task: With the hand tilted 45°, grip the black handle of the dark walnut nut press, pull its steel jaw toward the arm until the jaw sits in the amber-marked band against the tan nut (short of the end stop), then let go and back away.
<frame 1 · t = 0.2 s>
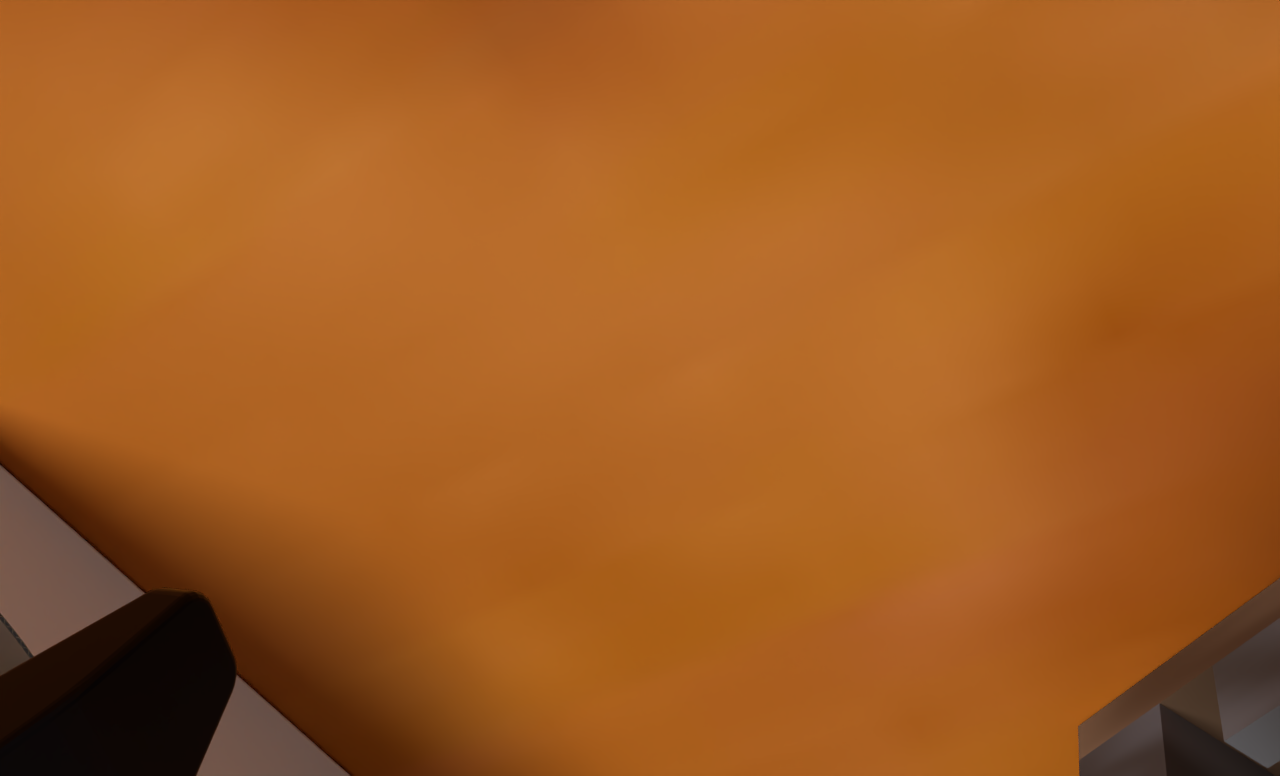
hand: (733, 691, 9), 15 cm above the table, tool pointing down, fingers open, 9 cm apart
gable box: (96, 695, 39), on the table
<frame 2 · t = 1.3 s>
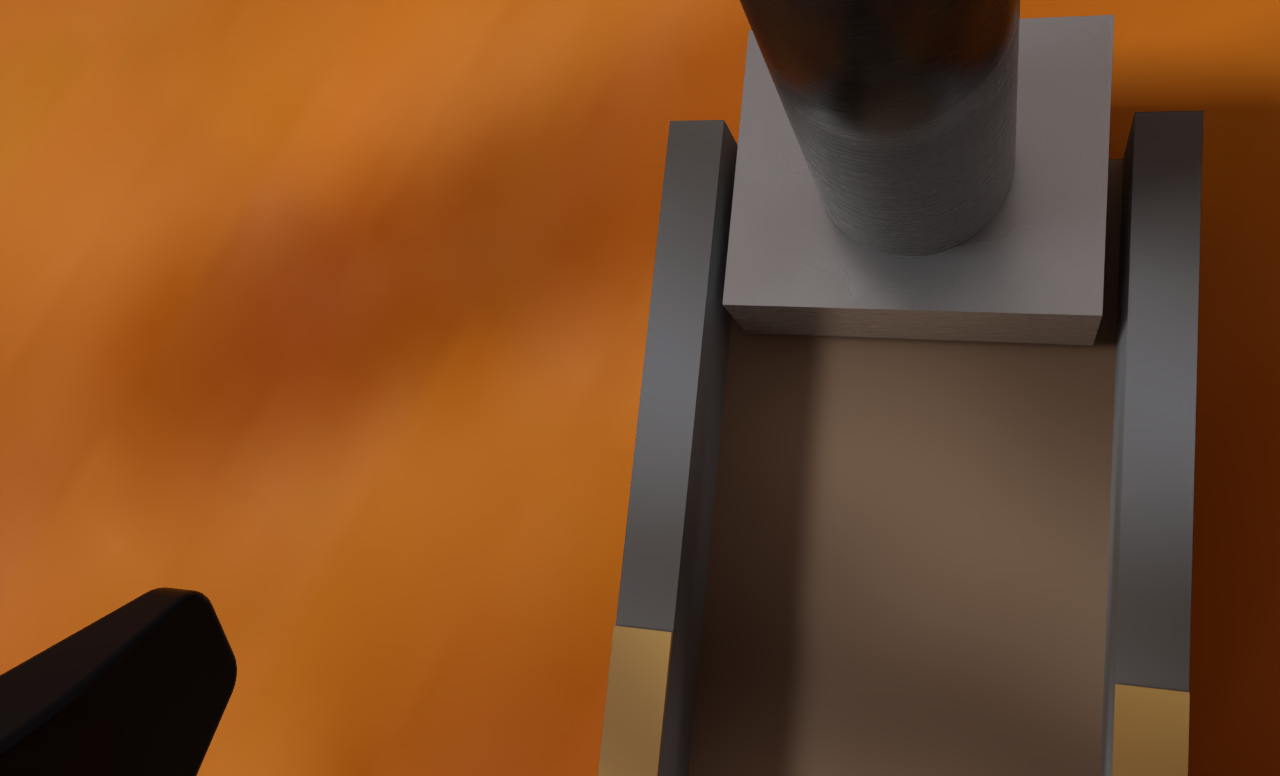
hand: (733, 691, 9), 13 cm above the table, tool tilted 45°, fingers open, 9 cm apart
press base: (925, 229, 23), on the table
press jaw: (889, 30, 15), point 8 cm above the table, slide at 0.0 cm
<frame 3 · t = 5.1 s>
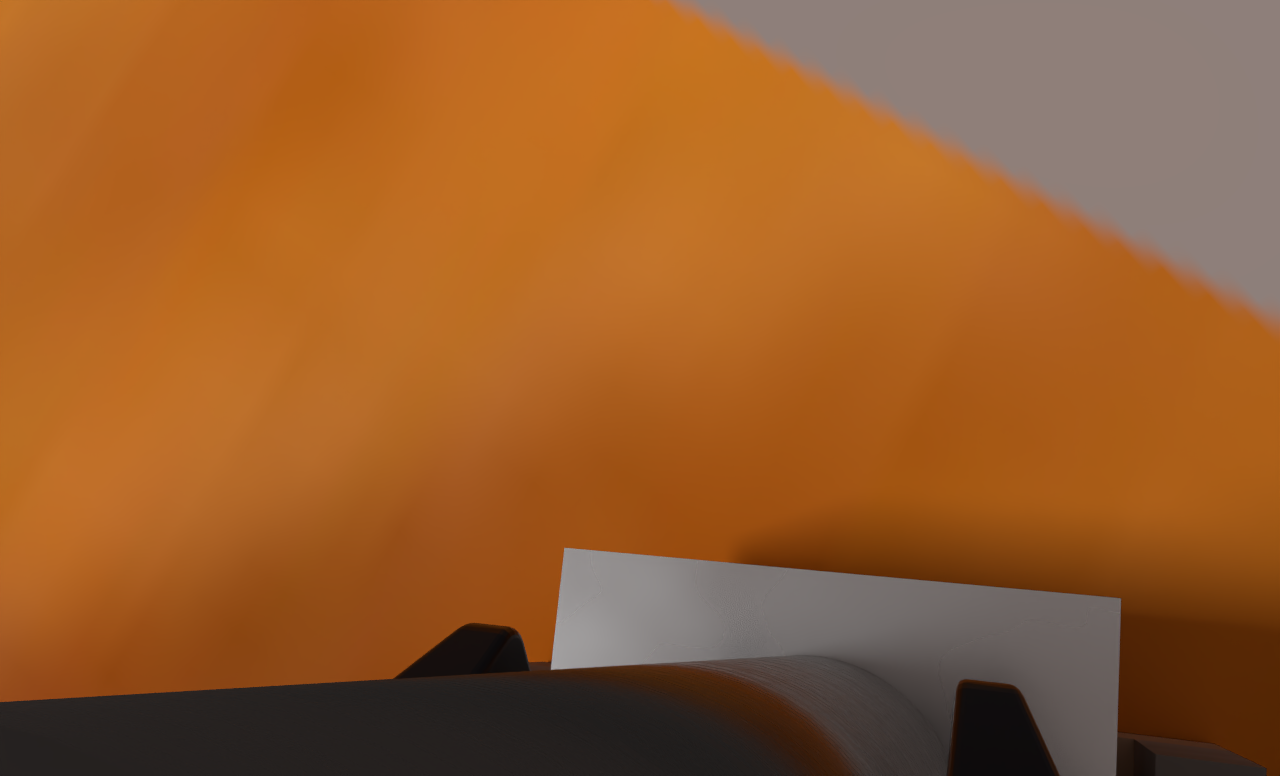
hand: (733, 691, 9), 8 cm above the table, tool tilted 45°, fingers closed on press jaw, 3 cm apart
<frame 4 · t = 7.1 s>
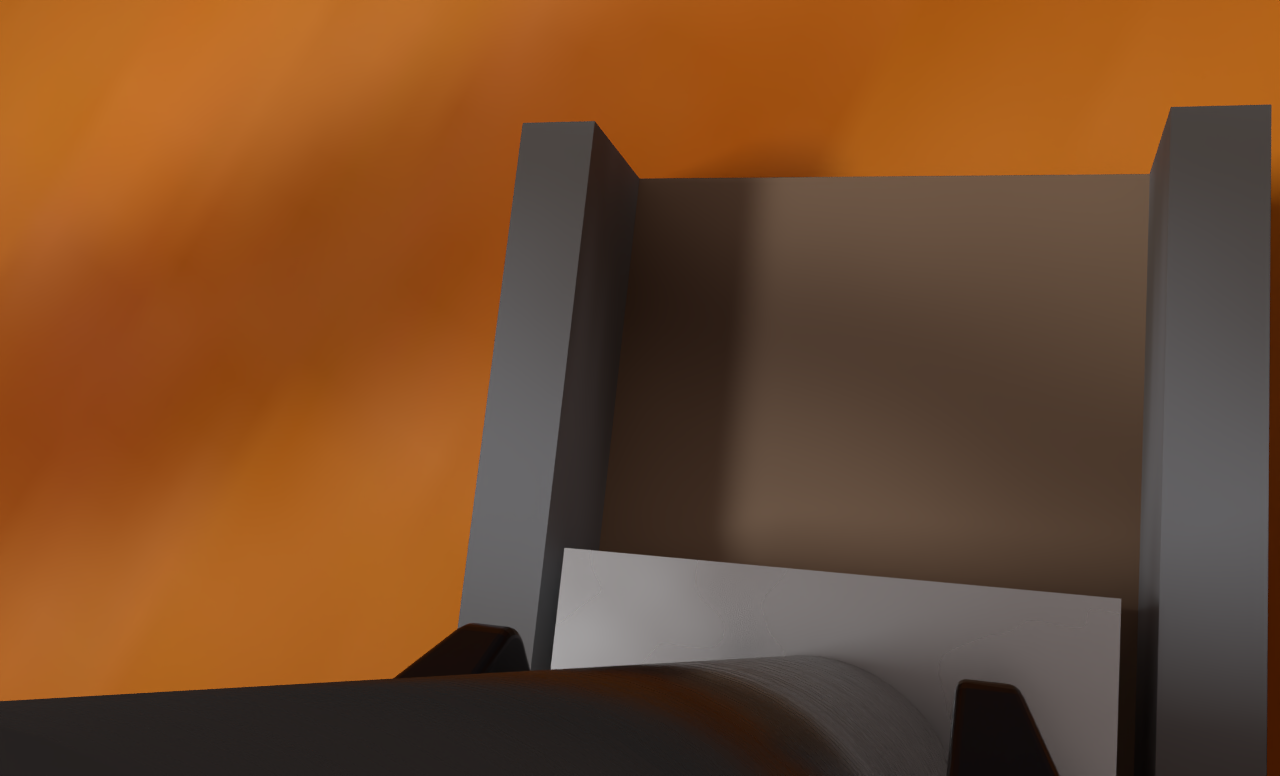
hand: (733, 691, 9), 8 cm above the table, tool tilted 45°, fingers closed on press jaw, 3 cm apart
press base: (880, 269, 17), on the table
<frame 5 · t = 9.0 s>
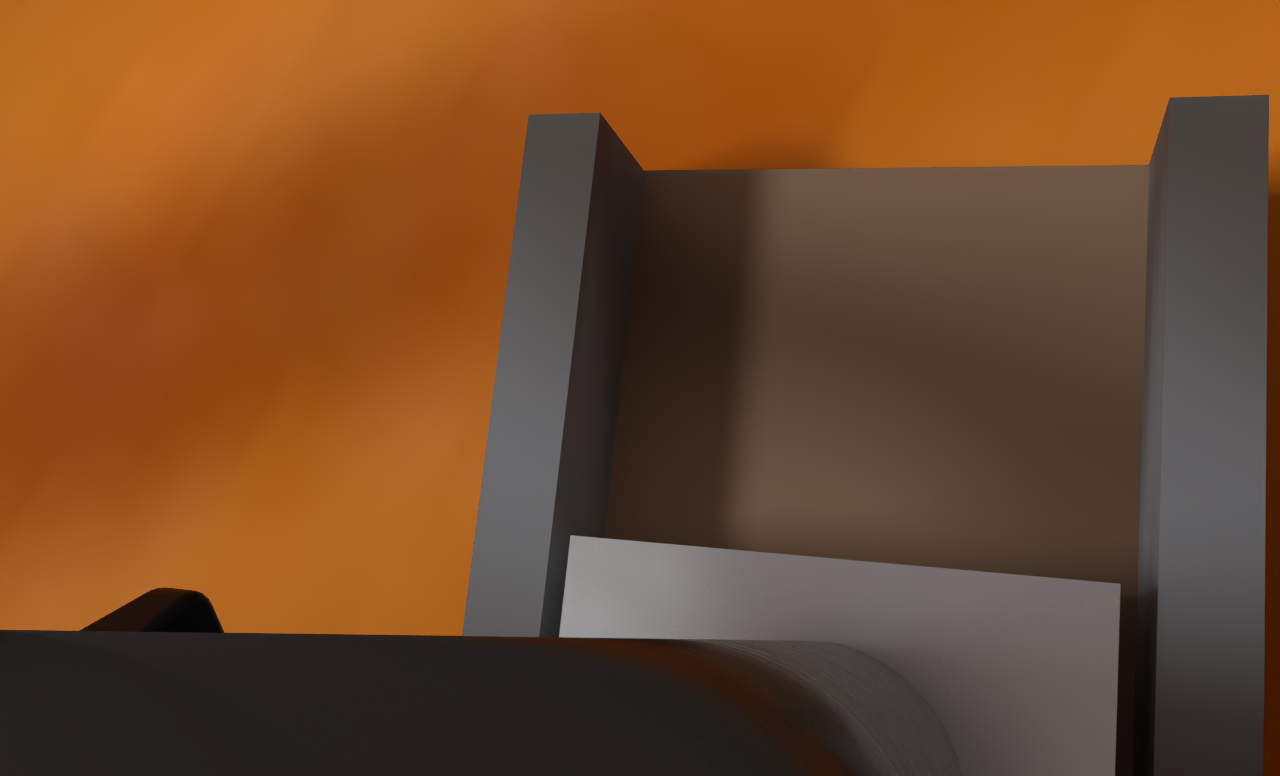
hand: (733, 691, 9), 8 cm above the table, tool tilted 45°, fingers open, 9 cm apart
press base: (882, 260, 17), on the table
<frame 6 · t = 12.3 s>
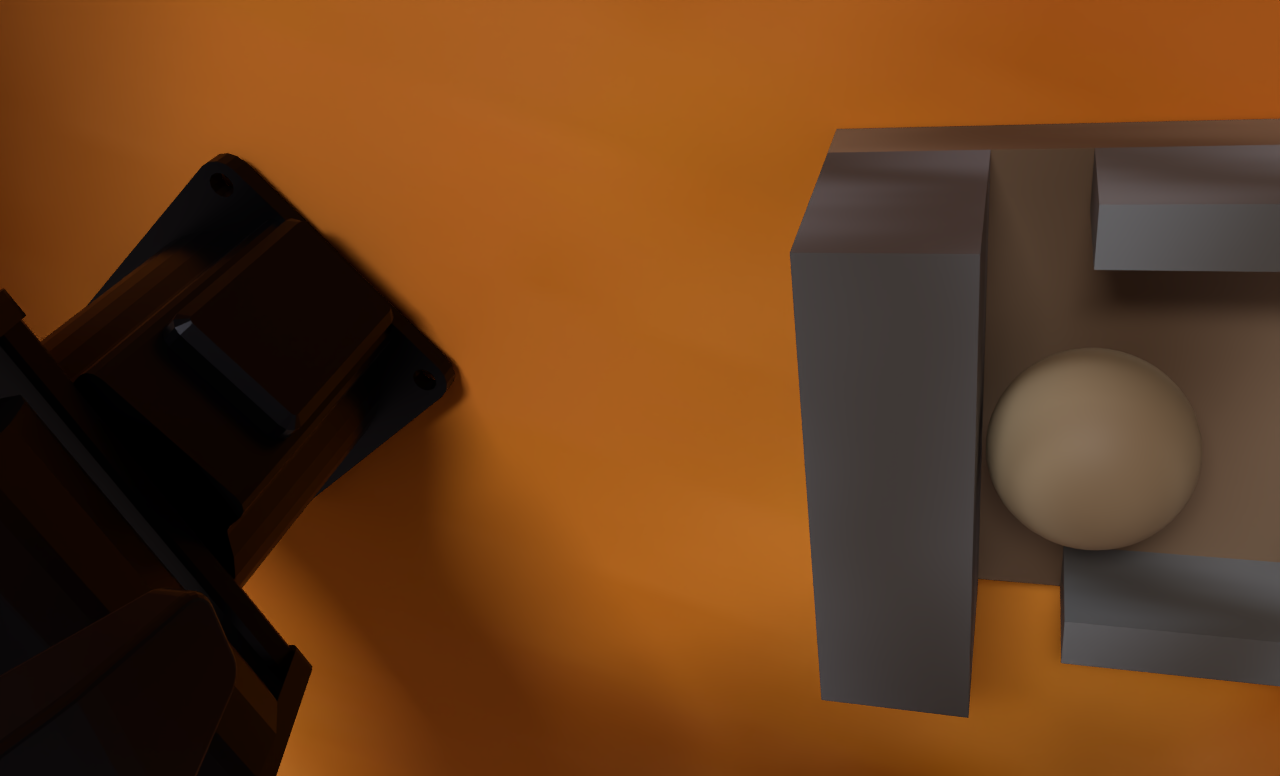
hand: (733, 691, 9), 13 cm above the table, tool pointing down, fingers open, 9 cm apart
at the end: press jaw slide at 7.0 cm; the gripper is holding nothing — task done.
